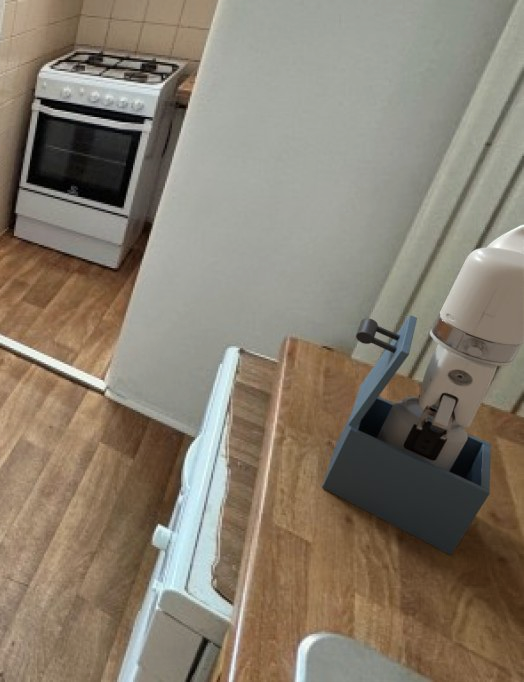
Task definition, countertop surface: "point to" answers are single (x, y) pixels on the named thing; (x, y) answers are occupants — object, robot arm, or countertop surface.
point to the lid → (381, 362)
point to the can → (408, 415)
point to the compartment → (409, 482)
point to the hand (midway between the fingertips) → (421, 437)
